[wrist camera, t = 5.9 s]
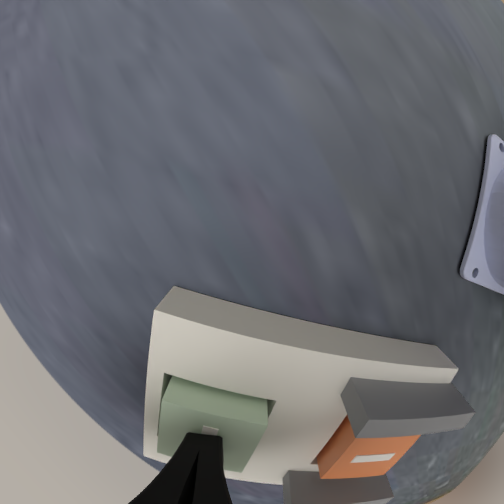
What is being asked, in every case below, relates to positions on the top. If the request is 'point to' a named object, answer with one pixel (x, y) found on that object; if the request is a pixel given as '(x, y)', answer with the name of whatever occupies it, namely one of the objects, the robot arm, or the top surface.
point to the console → (301, 388)
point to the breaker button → (360, 454)
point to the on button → (212, 420)
